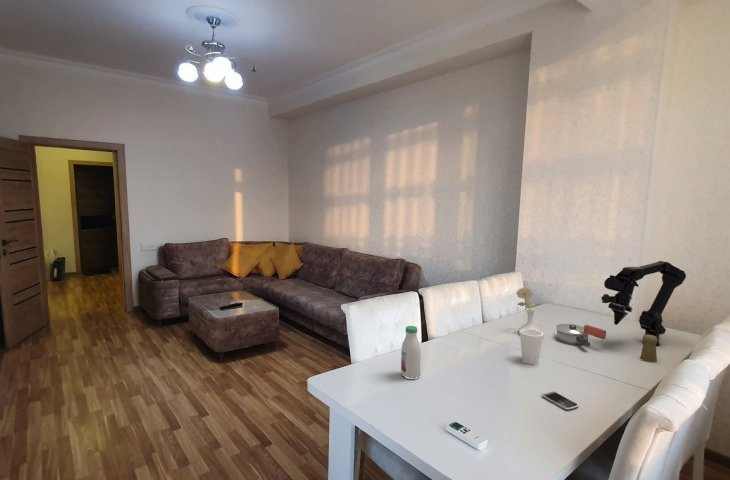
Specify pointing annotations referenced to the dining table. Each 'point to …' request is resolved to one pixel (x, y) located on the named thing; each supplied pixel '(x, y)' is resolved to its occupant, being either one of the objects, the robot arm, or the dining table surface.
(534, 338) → the foam cup
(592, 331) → the lid
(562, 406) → the cell phone
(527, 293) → the flower in vase
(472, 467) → the dining table surface
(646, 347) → the cork
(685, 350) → the dining table surface
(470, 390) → the dining table surface
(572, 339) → the pot
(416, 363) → the milk bottle
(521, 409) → the dining table surface
